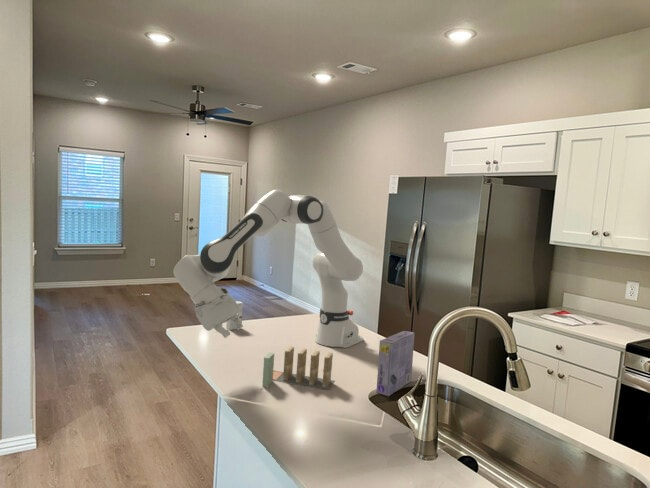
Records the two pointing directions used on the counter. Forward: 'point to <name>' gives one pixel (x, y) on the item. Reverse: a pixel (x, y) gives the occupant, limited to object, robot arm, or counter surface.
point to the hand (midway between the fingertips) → (234, 332)
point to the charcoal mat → (279, 377)
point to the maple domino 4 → (327, 370)
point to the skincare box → (231, 324)
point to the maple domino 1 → (288, 363)
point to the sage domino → (268, 369)
